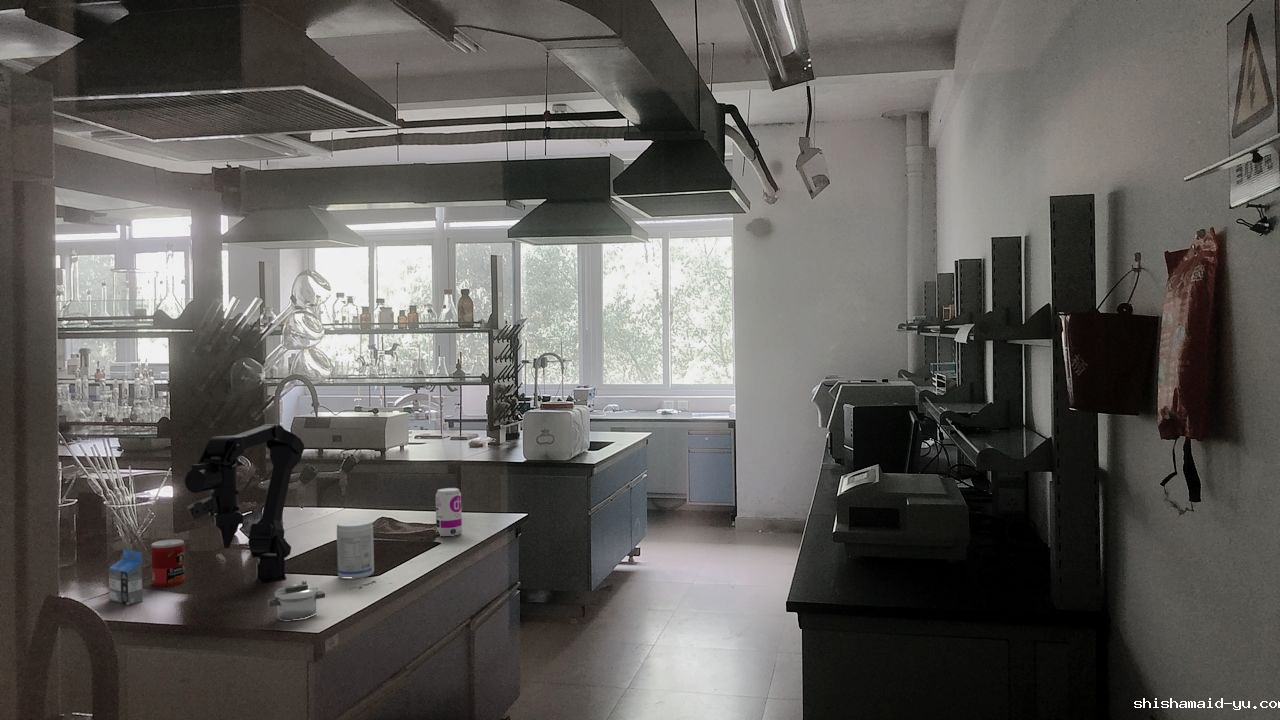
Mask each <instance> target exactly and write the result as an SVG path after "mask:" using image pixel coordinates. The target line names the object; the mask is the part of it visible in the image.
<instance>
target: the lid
mask: <svg viewBox="0 0 1280 720" xmlns="http://www.w3.org/2000/svg"><path fill="white" fill-rule="evenodd" d="M318 592H319V587H318V586H317V585H314V584H307V580H303V581H301V584H300V583H296V584H291V585H290V584H289V585H286V586H284V587H280V588H278V589H276V590H275V591H274V599H275V598H276V599H279V600H299V599H305V598H308V597H311V596H314V595H316V594H317V593H318Z"/></svg>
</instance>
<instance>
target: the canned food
mask: <svg viewBox="0 0 1280 720" xmlns="http://www.w3.org/2000/svg"><path fill="white" fill-rule="evenodd" d="M150 546H151V548H150V549H151V553H150V554H151V555H150V556H151V578H152V579H151V580H152V584H153V585H154V586H155V587H171V586H177V585H180V584H182V583H184V581H185V579H186V569H185V568H186V567H185V565H186V563H185V559H186V558H185V541H184V540H183V539H178V538H177V539H175V538H173V539H172V538H170V539H162V540H159V541H155V542H153V543H151V545H150Z"/></svg>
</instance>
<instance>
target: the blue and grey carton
mask: <svg viewBox="0 0 1280 720" xmlns="http://www.w3.org/2000/svg"><path fill="white" fill-rule="evenodd" d="M122 551H123V552H122V559H120V560H119V561H118V562H115V563H114V564H113V565H111V566H110V567H108V583H109V585H108V587H109V601H110V602H111V601H112V602H116V603H120V604H123V605H127V606H131V605H135V604H138V602H139V603H142V602H143V575H142V574H143V570H142V566H143V564H142V561H143V560H142V559H143V557H142V555H143V552H141V551H136V550H130V549H126V548H123V550H122ZM131 556H134V557H131Z"/></svg>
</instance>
